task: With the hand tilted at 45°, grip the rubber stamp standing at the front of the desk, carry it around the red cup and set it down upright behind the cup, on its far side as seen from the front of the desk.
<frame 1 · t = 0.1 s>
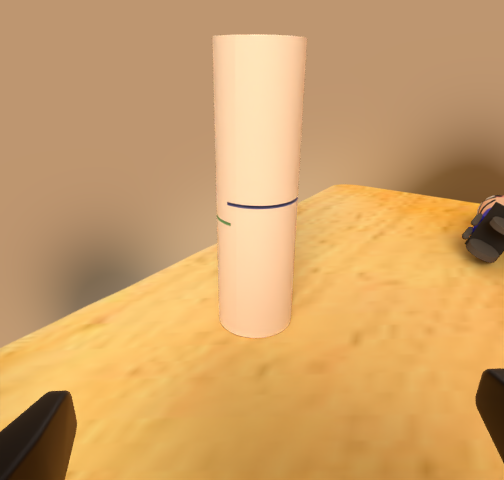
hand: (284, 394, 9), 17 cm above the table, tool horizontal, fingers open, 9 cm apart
cylindrical container: (254, 317, 41), on the table
character figurine: (490, 251, 56), on the table
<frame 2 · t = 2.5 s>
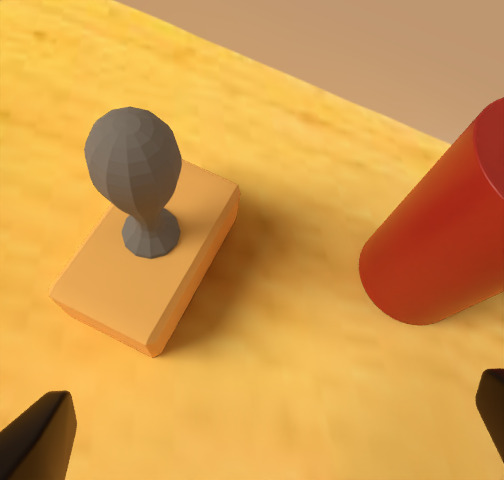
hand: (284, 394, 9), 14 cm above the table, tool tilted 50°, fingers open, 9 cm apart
rubber stamp: (158, 262, 24), on the table
red cup: (408, 273, 26), on the table
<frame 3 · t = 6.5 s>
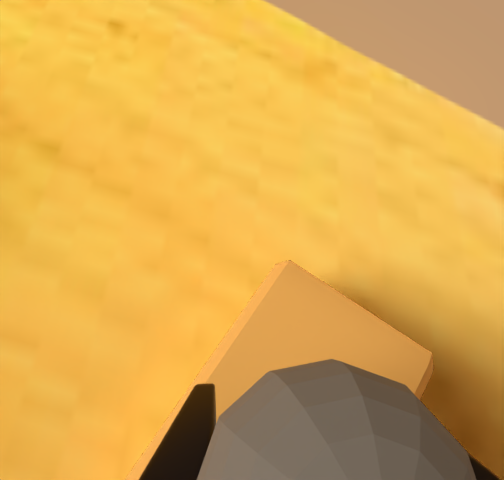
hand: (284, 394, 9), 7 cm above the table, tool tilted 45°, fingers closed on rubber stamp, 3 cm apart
rubber stamp: (261, 439, 15), on the table, touching gripper
when the fingers open (7 cm above the table, at t = 13.5 s): rubber stamp stays where it is, on the table.
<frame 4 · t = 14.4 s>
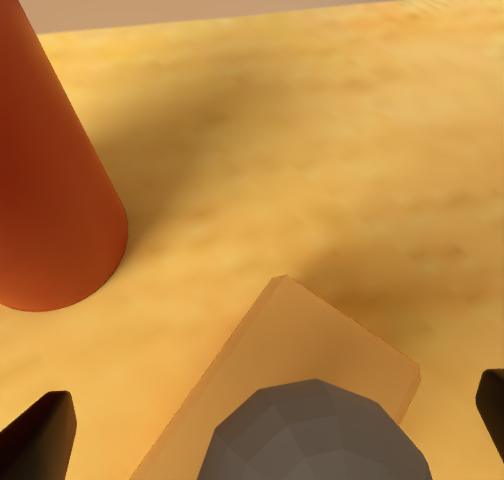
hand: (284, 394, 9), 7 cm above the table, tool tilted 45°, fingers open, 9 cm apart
rubber stamp: (257, 444, 15), on the table
red cup: (50, 236, 18), on the table
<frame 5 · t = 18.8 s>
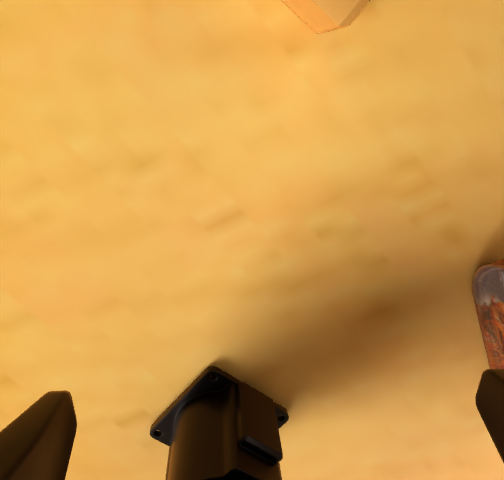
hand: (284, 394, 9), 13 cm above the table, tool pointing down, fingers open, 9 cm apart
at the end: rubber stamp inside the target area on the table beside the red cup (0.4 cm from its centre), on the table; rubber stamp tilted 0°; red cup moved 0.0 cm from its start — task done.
